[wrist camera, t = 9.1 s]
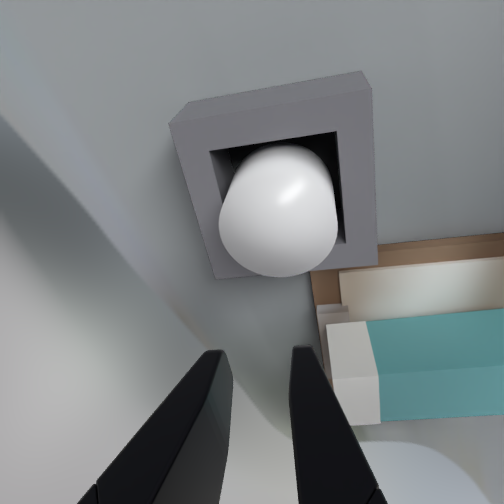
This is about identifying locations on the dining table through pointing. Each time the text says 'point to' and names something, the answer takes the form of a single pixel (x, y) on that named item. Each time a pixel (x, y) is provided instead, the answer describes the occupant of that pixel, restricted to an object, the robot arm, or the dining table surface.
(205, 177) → the button base
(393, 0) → the dining table surface
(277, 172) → the button
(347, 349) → the teal and white bar
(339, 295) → the wooden picture frame
